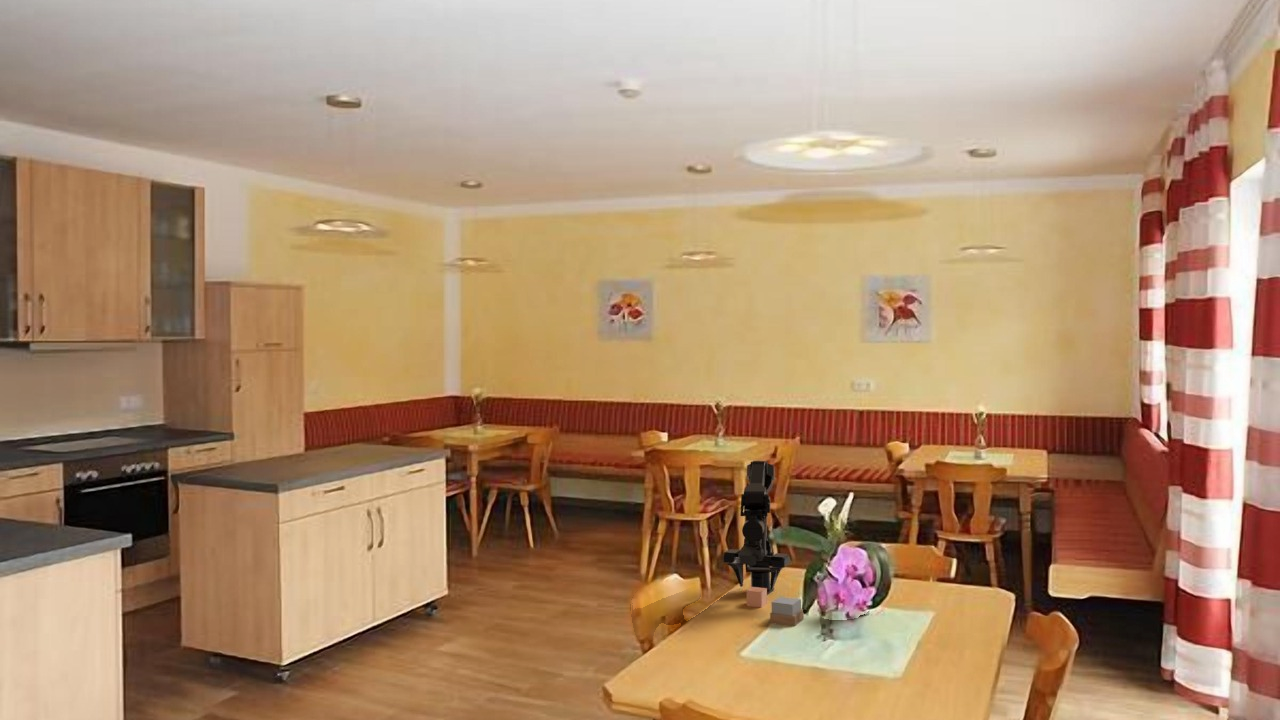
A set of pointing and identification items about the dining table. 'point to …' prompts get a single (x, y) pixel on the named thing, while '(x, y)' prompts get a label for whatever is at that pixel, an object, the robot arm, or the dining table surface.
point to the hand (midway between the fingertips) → (756, 588)
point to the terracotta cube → (757, 597)
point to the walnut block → (787, 618)
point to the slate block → (786, 606)
